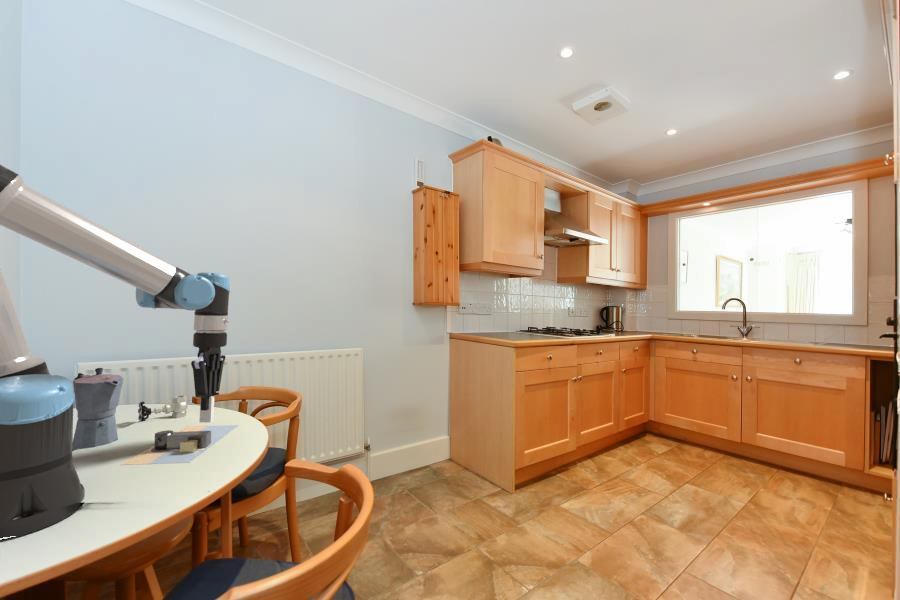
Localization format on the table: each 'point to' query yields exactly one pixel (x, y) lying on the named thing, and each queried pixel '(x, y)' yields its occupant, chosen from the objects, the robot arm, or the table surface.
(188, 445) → the block
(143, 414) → the valve
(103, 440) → the moka pot
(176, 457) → the door panel
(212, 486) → the table surface
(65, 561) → the table surface
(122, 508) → the table surface
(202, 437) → the latch bar
